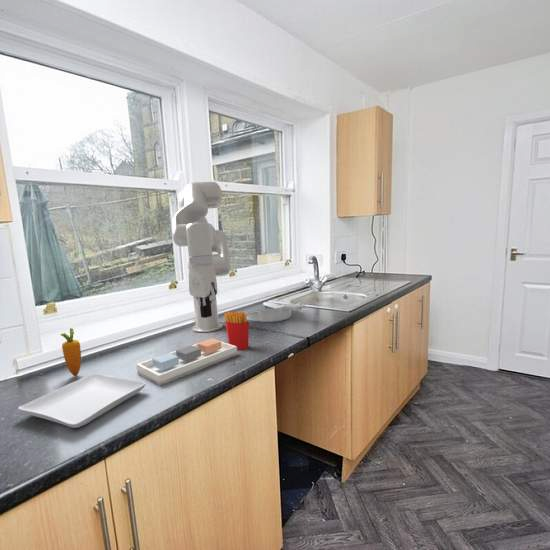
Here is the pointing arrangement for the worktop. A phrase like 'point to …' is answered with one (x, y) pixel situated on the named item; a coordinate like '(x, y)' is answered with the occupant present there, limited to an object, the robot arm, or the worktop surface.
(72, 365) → the carrot
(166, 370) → the white rectangular tray
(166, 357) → the dusty blue key
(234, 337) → the french fries
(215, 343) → the terracotta key
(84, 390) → the salad plate
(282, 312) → the frying pan
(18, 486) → the worktop surface
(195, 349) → the charcoal key
